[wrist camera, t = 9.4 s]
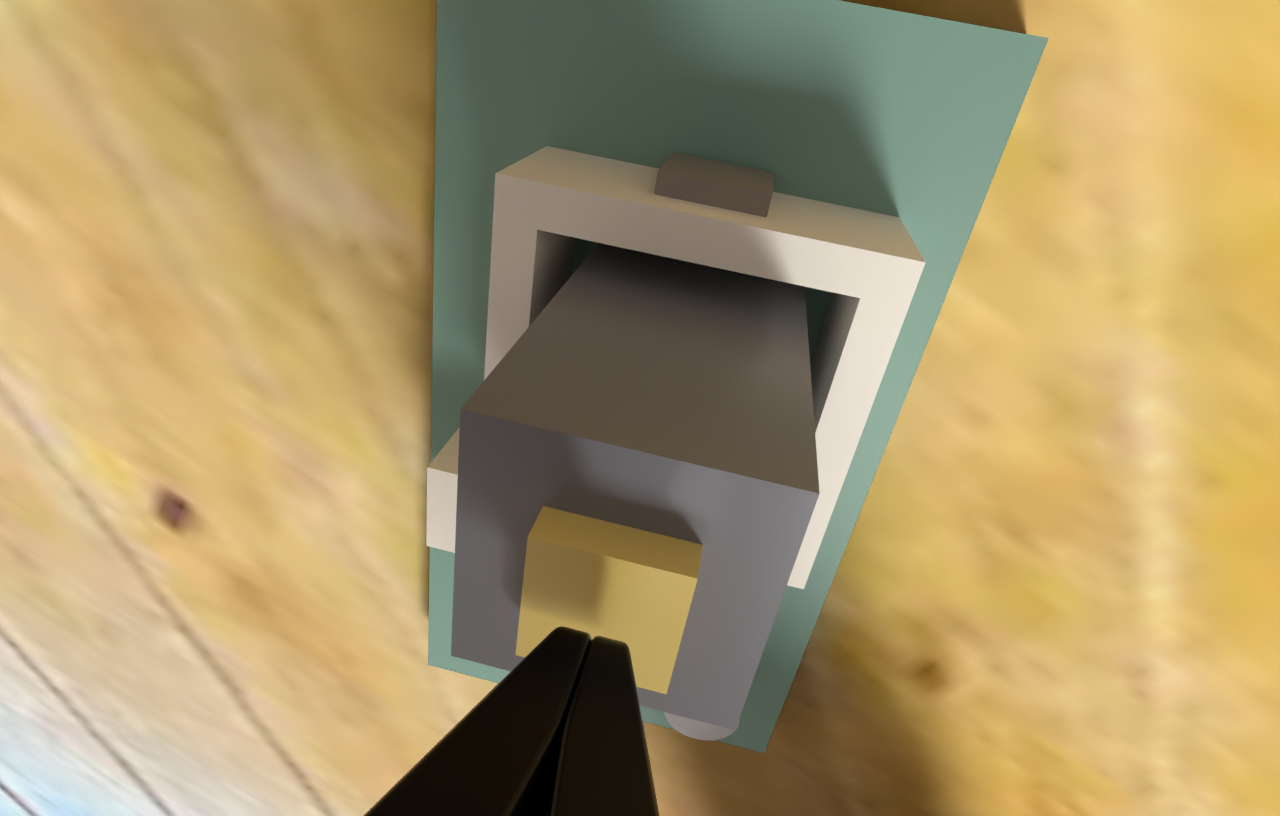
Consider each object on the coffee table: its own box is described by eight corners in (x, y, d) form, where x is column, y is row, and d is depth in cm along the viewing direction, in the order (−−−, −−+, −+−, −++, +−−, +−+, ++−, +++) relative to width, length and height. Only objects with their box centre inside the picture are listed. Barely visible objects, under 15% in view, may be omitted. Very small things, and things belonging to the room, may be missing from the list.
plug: (755, 440, 17) (732, 769, 10) (584, 400, 17) (433, 689, 10) (803, 273, 15) (822, 527, 7) (608, 231, 15) (439, 435, 8)
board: (765, 720, 23) (761, 850, 20) (443, 636, 24) (382, 746, 20) (1027, 36, 13) (1119, 43, 10) (463, -66, 14) (351, -96, 10)
